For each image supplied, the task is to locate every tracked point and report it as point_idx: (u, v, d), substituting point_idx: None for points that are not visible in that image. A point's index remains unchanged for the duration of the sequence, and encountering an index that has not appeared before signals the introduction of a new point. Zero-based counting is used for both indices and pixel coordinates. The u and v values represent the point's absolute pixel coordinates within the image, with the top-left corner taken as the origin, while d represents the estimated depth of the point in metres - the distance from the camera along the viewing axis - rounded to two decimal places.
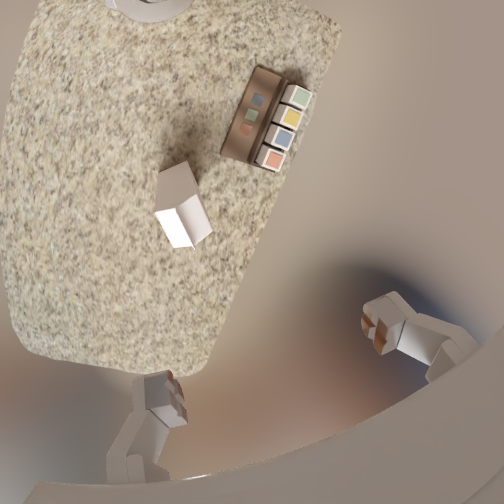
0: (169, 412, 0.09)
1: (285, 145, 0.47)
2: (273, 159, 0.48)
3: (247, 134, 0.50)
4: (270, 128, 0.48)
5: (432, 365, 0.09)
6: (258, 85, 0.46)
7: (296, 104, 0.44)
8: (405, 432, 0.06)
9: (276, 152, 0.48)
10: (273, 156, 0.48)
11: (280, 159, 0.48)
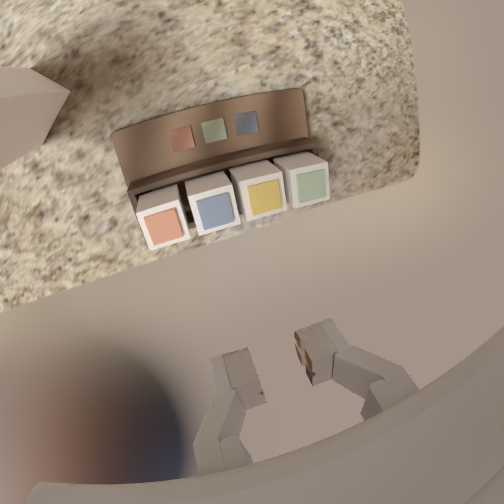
0: (254, 390, 0.09)
1: (206, 224, 0.22)
2: (164, 224, 0.21)
3: (175, 148, 0.24)
4: (215, 176, 0.24)
5: (364, 404, 0.08)
6: (271, 109, 0.25)
7: (294, 186, 0.23)
8: (405, 432, 0.06)
9: (180, 218, 0.22)
10: (169, 219, 0.21)
11: (174, 235, 0.22)
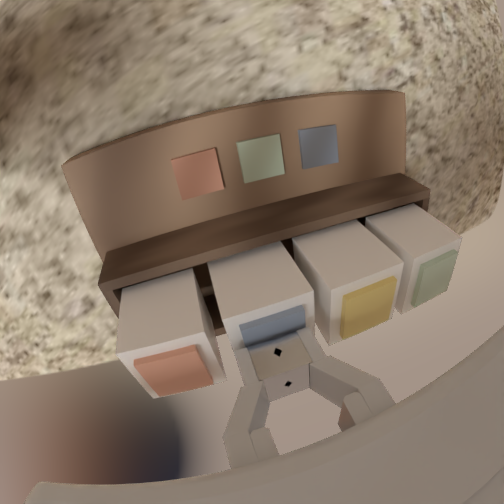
0: (280, 381, 0.09)
1: None
2: (176, 371, 0.10)
3: (185, 193, 0.13)
4: (268, 254, 0.13)
5: (340, 415, 0.08)
6: (360, 124, 0.13)
7: (412, 282, 0.12)
8: (405, 432, 0.06)
9: (209, 358, 0.10)
10: (186, 365, 0.10)
11: (196, 384, 0.11)
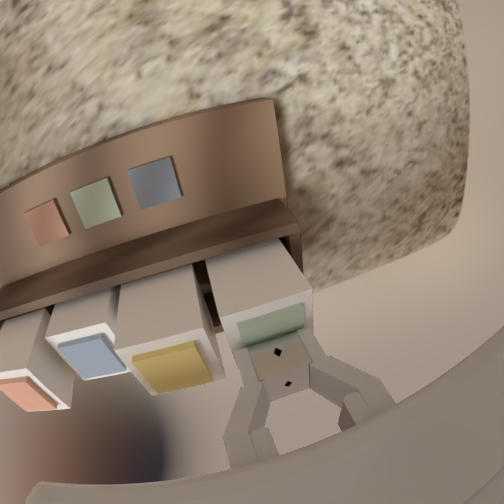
0: (280, 381, 0.09)
1: (84, 372, 0.11)
2: (23, 394, 0.09)
3: (40, 240, 0.12)
4: None
5: (340, 415, 0.08)
6: (206, 150, 0.12)
7: (234, 340, 0.11)
8: (405, 432, 0.06)
9: (43, 388, 0.09)
10: (26, 391, 0.09)
11: (44, 407, 0.10)
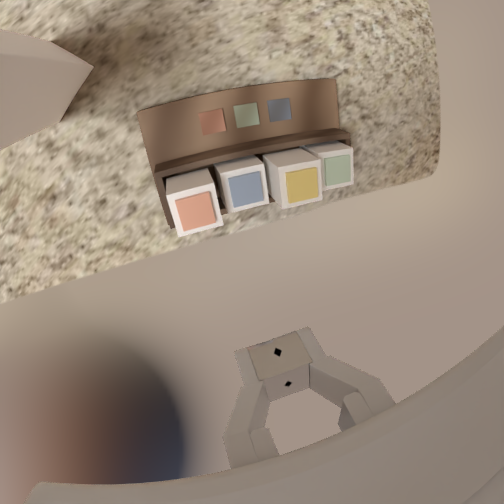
0: (280, 381, 0.09)
1: (236, 201, 0.22)
2: (196, 208, 0.20)
3: (205, 131, 0.23)
4: None
5: (340, 415, 0.08)
6: (304, 98, 0.24)
7: (321, 169, 0.23)
8: (405, 432, 0.06)
9: (214, 203, 0.20)
10: (203, 203, 0.20)
11: (206, 221, 0.21)
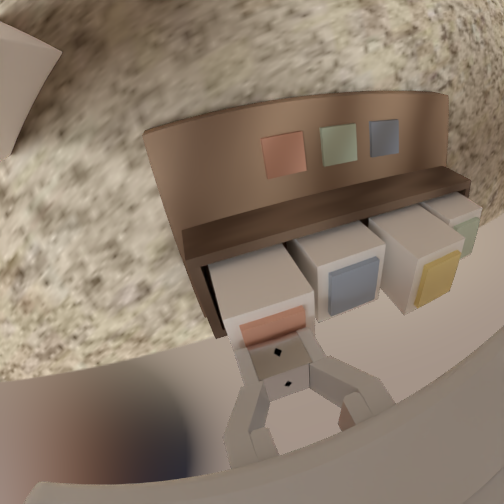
0: (280, 381, 0.09)
1: (336, 307, 0.13)
2: (279, 335, 0.11)
3: (272, 172, 0.13)
4: None
5: (340, 415, 0.08)
6: (415, 121, 0.14)
7: None
8: (405, 432, 0.06)
9: (308, 321, 0.11)
10: (291, 327, 0.11)
11: None
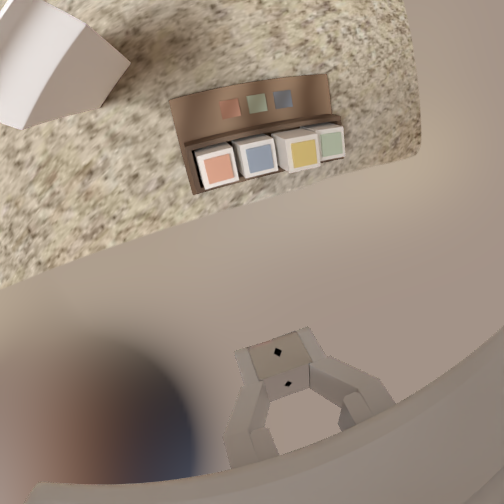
0: (280, 381, 0.09)
1: (252, 168, 0.27)
2: (219, 166, 0.26)
3: (224, 116, 0.28)
4: (257, 135, 0.29)
5: (340, 415, 0.08)
6: (302, 89, 0.29)
7: None
8: (405, 432, 0.06)
9: (232, 163, 0.27)
10: (224, 162, 0.26)
11: (226, 176, 0.27)
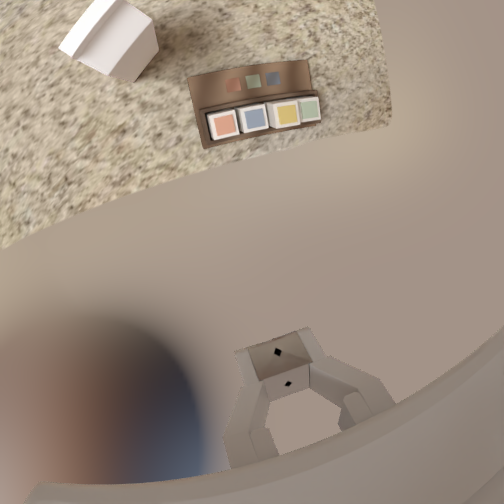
0: (280, 381, 0.09)
1: (249, 125, 0.36)
2: (225, 123, 0.35)
3: (229, 90, 0.37)
4: (253, 104, 0.37)
5: (340, 415, 0.08)
6: (288, 71, 0.37)
7: (299, 109, 0.36)
8: (405, 432, 0.06)
9: (234, 121, 0.35)
10: (228, 120, 0.35)
11: (230, 130, 0.35)
